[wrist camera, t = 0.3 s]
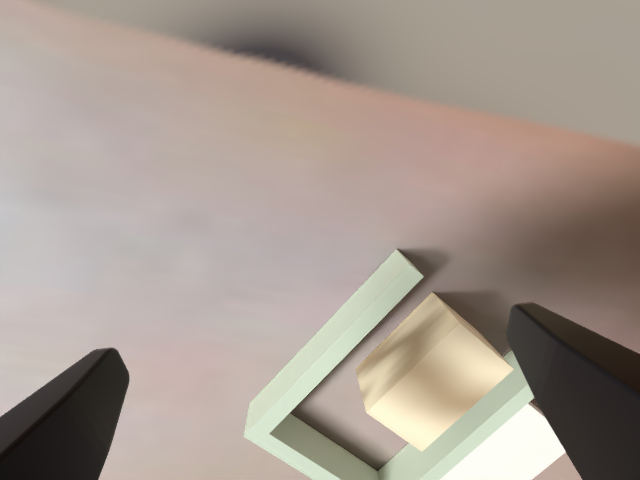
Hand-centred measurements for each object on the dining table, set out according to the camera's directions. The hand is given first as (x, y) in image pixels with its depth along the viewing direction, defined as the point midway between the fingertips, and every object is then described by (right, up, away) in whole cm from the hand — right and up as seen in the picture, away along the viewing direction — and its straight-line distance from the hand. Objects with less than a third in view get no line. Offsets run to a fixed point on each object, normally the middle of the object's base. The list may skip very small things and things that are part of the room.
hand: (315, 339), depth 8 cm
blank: (+7, -6, +18) cm, 20 cm away
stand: (+14, -15, +21) cm, 29 cm away
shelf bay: (+5, -8, +18) cm, 21 cm away
